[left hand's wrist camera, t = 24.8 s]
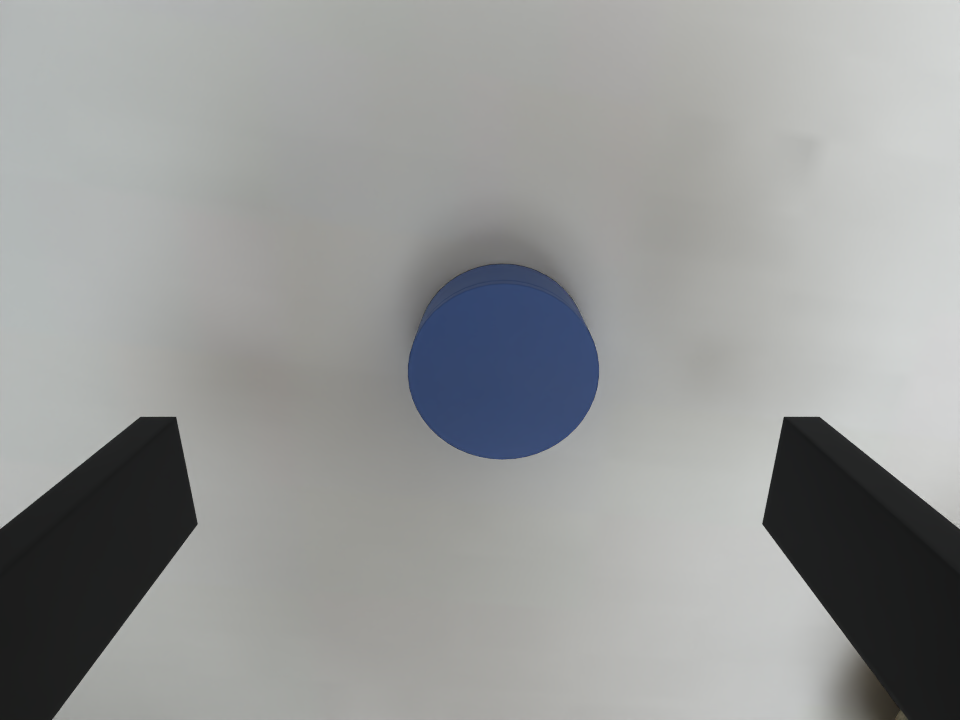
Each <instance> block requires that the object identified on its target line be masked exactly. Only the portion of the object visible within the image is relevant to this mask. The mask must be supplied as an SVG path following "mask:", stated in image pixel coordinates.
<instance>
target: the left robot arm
mask: <svg viewBox="0 0 960 720" xmlns="http://www.w3.org/2000/svg"><path fill="white" fill-rule="evenodd" d="M197 524H198V523H197V518H196V513H195V508H194V503H193V498H192V493H191V489H190V484H189V479H188V474H187V469H186V464H185V459H184V454H183V449H182V444H181V439H180V434H179V429H178V424H177V419H176V417H140V418H139V419H137V420H136V421H135V422H134V423H132V424H131V425H130V426H129V427H127V428H126V429H125V430H124V431H122V432H121V433H120V434H119V435H117V436H116V437H115V438H114V439H112V440H111V441H110V442H109V443H107V444H106V445H105V446H104V447H102V448H101V449H100V450H99V451H97V452H96V453H95V454H94V455H92V456H91V457H90V458H89V459H87V460H86V461H85V462H84V463H82V464H81V465H80V466H79V467H77V468H76V469H75V470H74V471H72V472H71V473H70V474H69V475H67V476H66V477H65V478H64V479H62V480H61V481H60V482H59V483H57V484H56V485H55V486H54V487H52V488H51V489H50V490H49V491H47V492H46V493H45V494H44V495H42V496H41V497H40V498H39V499H37V500H36V501H35V502H34V503H33V504H31V505H30V506H29V507H28V508H26V509H25V510H24V511H23V512H21V513H20V514H19V515H18V516H16V517H15V518H14V519H13V520H11V521H10V522H9V523H8V524H6V525H5V526H4V527H3V528H1V529H0V720H52V719H53V718H54V716H55V715H56V714H57V712H58V711H59V710H60V708H61V707H62V706H63V704H64V703H65V702H66V700H67V699H68V698H69V696H70V695H71V694H72V692H73V691H74V689H75V688H76V687H77V685H78V684H79V683H80V681H81V680H82V679H83V677H84V676H85V675H86V673H87V672H88V671H89V669H90V668H91V667H92V665H93V664H94V663H95V661H96V660H97V659H98V657H99V656H100V655H101V653H102V652H103V651H104V649H105V648H106V647H107V645H108V644H109V642H110V641H111V640H112V638H113V637H114V636H115V634H116V633H117V632H118V630H119V629H120V628H121V626H122V625H123V624H124V622H125V621H126V620H127V618H128V617H129V616H130V614H131V613H132V612H133V610H134V609H135V608H136V606H137V605H138V604H139V602H140V601H141V600H142V598H143V597H144V595H145V594H146V593H147V591H148V590H149V589H150V587H151V586H152V585H153V583H154V582H155V581H156V579H157V578H158V577H159V575H160V574H161V573H162V571H163V570H164V569H165V567H166V566H167V565H168V563H169V562H170V561H171V559H172V558H173V557H174V555H175V554H176V553H177V551H178V550H179V549H180V547H181V546H182V544H183V543H184V542H185V540H186V539H187V538H188V536H189V535H190V534H191V532H192V531H193V530H194V528H195V527H196V526H197ZM762 524H763V526H764V527H765V528H766V530H767V531H768V532H769V534H770V535H771V536H772V538H773V539H774V540H775V542H776V543H777V544H778V546H779V547H780V549H781V550H782V551H783V553H784V554H785V555H786V557H787V558H788V559H789V561H790V562H791V563H792V565H793V566H794V567H795V569H796V570H797V571H798V573H799V574H800V575H801V577H802V578H803V579H804V581H805V582H806V583H807V585H808V586H809V587H810V589H811V590H812V591H813V593H814V594H815V596H816V597H817V598H818V600H819V601H820V602H821V604H822V605H823V606H824V608H825V609H826V610H827V612H828V613H829V614H830V616H831V617H832V618H833V620H834V621H835V622H836V624H837V625H838V626H839V628H840V629H841V630H842V632H843V633H844V634H845V636H846V637H847V638H848V640H849V641H850V642H851V644H852V645H853V647H854V648H855V649H856V651H857V652H858V653H859V655H860V656H861V657H862V659H863V660H864V661H865V663H866V664H867V665H868V667H869V668H870V669H871V671H872V672H873V673H874V675H875V676H876V677H877V679H878V680H879V681H880V683H881V684H882V685H883V687H884V688H885V689H886V691H887V692H888V694H889V695H890V696H891V698H892V699H893V700H894V702H895V703H896V704H897V706H898V707H899V708H900V710H901V711H902V712H903V714H904V715H905V716H906V718H907V719H908V720H960V529H959V528H957V527H956V526H955V525H954V524H952V523H951V522H950V521H949V520H947V519H946V518H945V517H944V516H942V515H941V514H940V513H939V512H937V511H936V510H935V509H934V508H932V507H931V506H930V505H929V504H927V503H926V502H925V501H924V500H923V499H921V498H920V497H919V496H918V495H916V494H915V493H914V492H913V491H911V490H910V489H909V488H908V487H906V486H905V485H904V484H903V483H901V482H900V481H899V480H898V479H896V478H895V477H894V476H893V475H891V474H890V473H889V472H888V471H886V470H885V469H884V468H883V467H881V466H880V465H879V464H878V463H876V462H875V461H874V460H873V459H871V458H870V457H869V456H868V455H866V454H865V453H864V452H863V451H861V450H860V449H859V448H858V447H856V446H855V445H854V444H853V443H851V442H850V441H849V440H848V439H846V438H845V437H844V436H843V435H841V434H840V433H839V432H838V431H836V430H835V429H834V428H833V427H831V426H830V425H829V424H828V423H826V422H825V421H824V420H823V419H821V418H820V417H784V419H783V424H782V429H781V434H780V439H779V444H778V449H777V454H776V459H775V464H774V469H773V474H772V479H771V484H770V489H769V493H768V498H767V503H766V508H765V513H764V518H763V523H762Z"/></svg>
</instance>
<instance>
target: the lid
mask: <svg viewBox="0 0 960 720" xmlns="http://www.w3.org/2000/svg"><path fill="white" fill-rule="evenodd" d="M598 379H599V362H598V355H597V351H596V347H595V344H594V341H593V339H592V337H591V335H590V332H589V330H588V328H587V326H586V324H585V322H584V320H583V318H582V316H581V314H580V312H579V310H578V308H577V306H576V304H575V303H574V301H573V300H572V298H571V297H570V296H569V295H568V293H567V292H566V291H565V290H564V289H563V288H562V287H561V286H560V285H559V284H558V283H556V282H555V281H554V280H552V279H551V278H549V277H548V276H546V275H544V274H542V273H540V272H538V271H536V270H533V269H530V268H527V267H523V266H518V265H511V264H495V265H487V266H482V267H478V268H475V269H472V270H469V271H467V272H465V273H463V274H461V275H459V276H457V277H456V278H454V279H453V280H451V281H450V282H448V283H447V284H446V285H445V286H444V287H443V288H442V289H440V291H439V292H438V293H437V294H436V295H435V296H434V298H433V299H432V301H431V302H430V304H429V305H428V307H427V309H426V311H425V313H424V315H423V317H422V320H421V323H420V326H419V328H418V331H417V334H416V337H415V339H414V342H413V345H412V349H411V352H410V356H409V363H408V380H409V388H410V392H411V395H412V399H413V401H414V403H415V406H416V408H417V410H418V412H419V413H420V415H421V417H422V418H423V420H424V421H425V422H426V424H427V425H428V426H429V427H430V428H431V429H432V430H433V431H434V432H435V433H436V434H437V435H438V436H439V437H440V438H442V439H443V440H444V441H446V442H447V443H448V444H450V445H452V446H454V447H455V448H457V449H459V450H462V451H464V452H466V453H469V454H472V455H475V456H479V457H484V458H490V459H516V458H521V457H527V456H530V455H534V454H537V453H539V452H542V451H544V450H547V449H549V448H550V447H552V446H554V445H556V444H557V443H559V442H560V441H562V440H563V439H564V438H566V437H567V436H568V435H569V434H570V433H571V432H572V431H573V430H574V429H576V427H577V426H578V425H579V424H580V422H581V421H582V420H583V419H584V417H585V415H586V414H587V412H588V411H589V409H590V407H591V404H592V402H593V400H594V397H595V394H596V390H597V386H598Z"/></svg>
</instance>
